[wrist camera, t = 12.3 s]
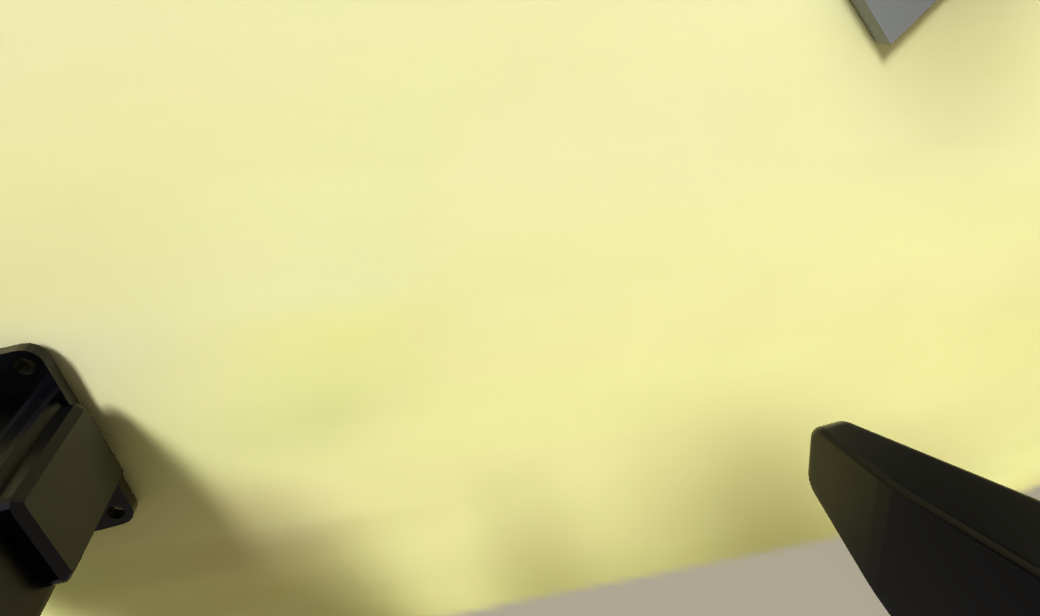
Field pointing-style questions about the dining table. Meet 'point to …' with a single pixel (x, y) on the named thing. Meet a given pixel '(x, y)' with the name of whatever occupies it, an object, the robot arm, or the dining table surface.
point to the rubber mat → (890, 16)
